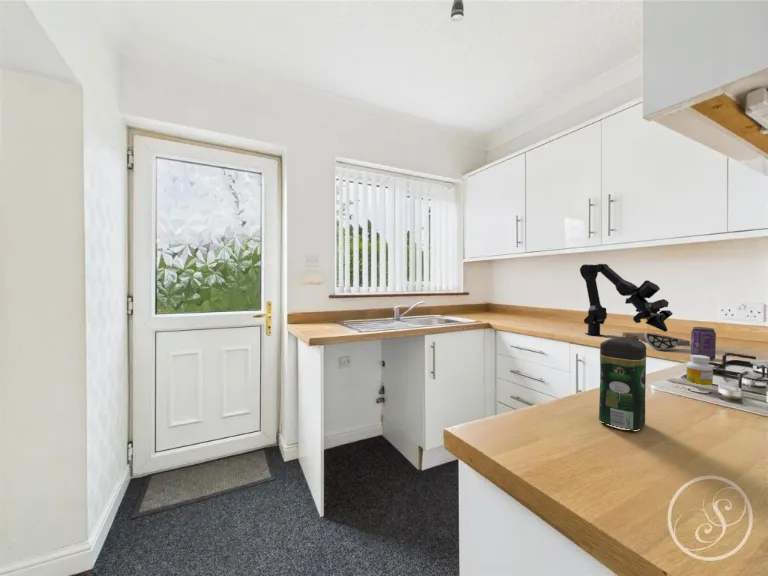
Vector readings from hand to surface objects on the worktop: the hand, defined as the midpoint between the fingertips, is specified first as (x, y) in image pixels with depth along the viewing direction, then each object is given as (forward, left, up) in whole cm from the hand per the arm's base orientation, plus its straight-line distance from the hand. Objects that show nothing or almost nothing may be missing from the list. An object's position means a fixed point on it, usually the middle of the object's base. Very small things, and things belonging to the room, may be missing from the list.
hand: (666, 331), depth 154 cm
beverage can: (+20, -1, -8) cm, 22 cm away
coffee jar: (+86, -71, -8) cm, 112 cm away
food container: (-2, -2, -6) cm, 7 cm away
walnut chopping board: (-20, +8, -8) cm, 23 cm away
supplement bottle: (+62, -35, -8) cm, 71 cm away
